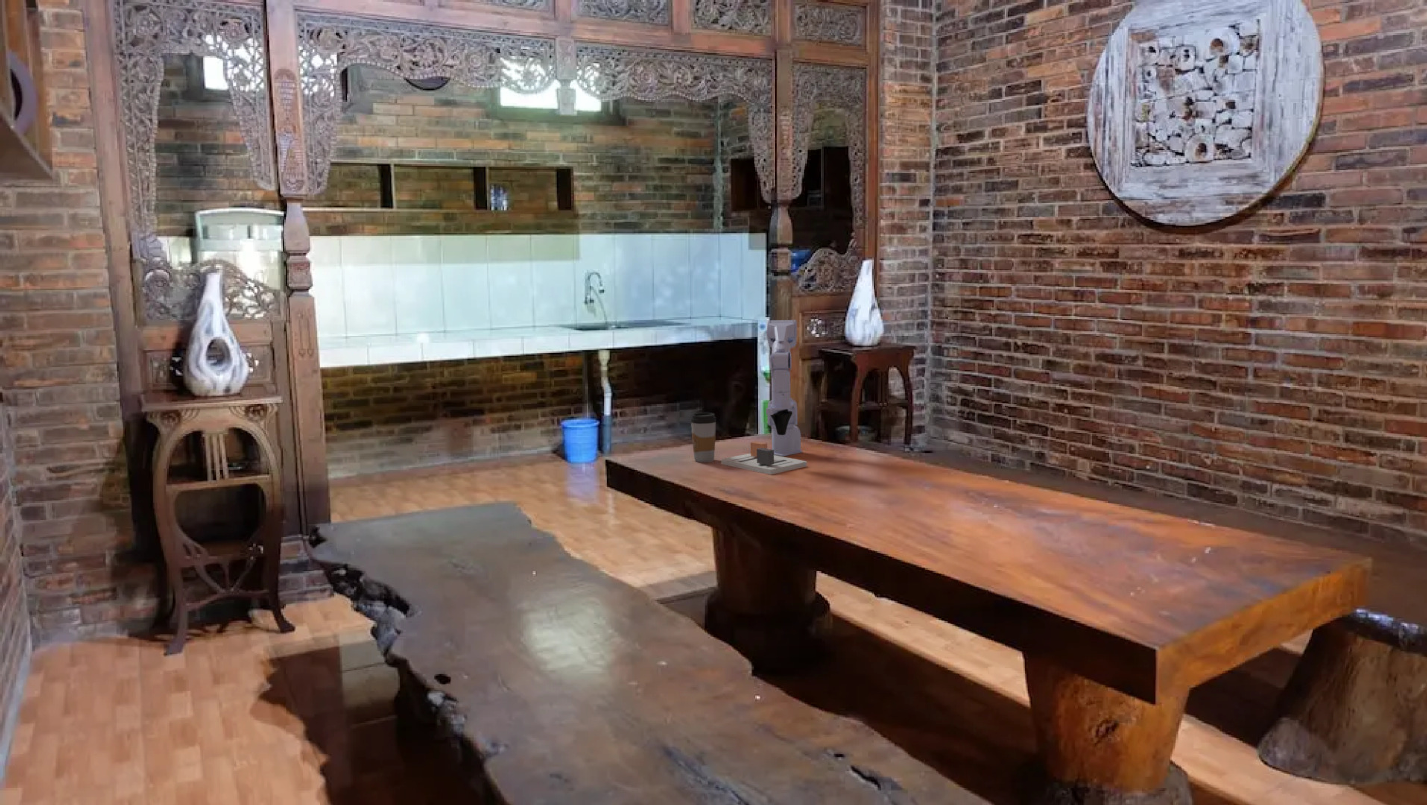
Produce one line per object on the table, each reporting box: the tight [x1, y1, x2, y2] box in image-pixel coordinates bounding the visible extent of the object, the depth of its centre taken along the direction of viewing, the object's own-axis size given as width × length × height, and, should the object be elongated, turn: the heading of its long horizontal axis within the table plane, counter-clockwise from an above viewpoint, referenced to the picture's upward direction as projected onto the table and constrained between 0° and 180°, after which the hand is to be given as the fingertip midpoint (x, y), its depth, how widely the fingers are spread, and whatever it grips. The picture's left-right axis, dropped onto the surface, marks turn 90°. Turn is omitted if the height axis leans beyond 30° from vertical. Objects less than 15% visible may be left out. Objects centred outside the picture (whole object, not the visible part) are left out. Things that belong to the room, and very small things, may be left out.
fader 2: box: [757, 448, 774, 465], centre depth 303 cm, size 2×5×4 cm, turn 42°
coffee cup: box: [690, 412, 717, 463], centre depth 317 cm, size 8×8×15 cm
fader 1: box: [750, 441, 768, 457], centre depth 313 cm, size 2×5×4 cm, turn 42°
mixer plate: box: [720, 452, 808, 475], centre depth 309 cm, size 16×22×2 cm
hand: (781, 434), depth 306 cm, fingers closed
